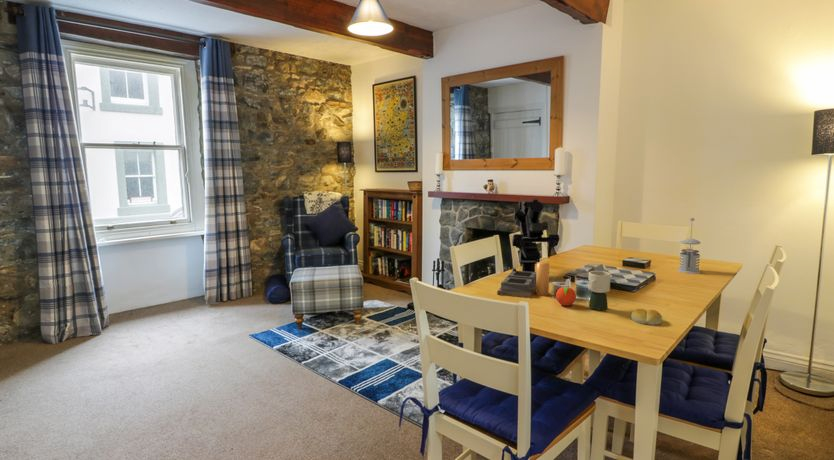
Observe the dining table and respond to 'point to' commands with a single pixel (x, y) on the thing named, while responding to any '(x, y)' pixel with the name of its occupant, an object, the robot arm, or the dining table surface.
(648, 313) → the bread roll
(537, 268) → the tan cylinder
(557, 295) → the tomato
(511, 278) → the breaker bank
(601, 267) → the electrical switch
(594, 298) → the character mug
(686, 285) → the dining table surface
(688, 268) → the french press
